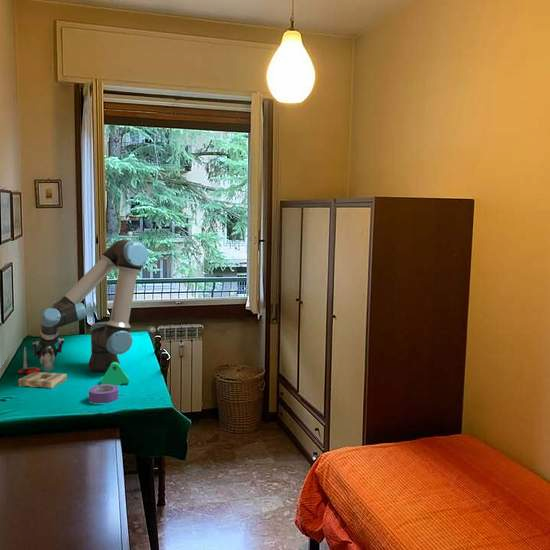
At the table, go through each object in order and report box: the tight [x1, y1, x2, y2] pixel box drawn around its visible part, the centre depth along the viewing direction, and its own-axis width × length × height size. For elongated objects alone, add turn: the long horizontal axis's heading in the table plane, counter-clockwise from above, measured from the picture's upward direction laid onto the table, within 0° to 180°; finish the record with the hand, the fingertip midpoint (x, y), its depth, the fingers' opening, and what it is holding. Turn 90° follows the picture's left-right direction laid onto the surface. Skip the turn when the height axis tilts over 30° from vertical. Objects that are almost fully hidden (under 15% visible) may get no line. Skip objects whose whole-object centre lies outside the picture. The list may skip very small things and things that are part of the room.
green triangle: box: [100, 362, 130, 386], centre depth 246 cm, size 12×8×10 cm, turn 104°
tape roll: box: [88, 384, 120, 404], centre depth 224 cm, size 12×12×5 cm
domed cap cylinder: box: [42, 346, 54, 371], centre depth 256 cm, size 5×5×11 cm
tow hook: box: [17, 346, 41, 375], centre depth 262 cm, size 8×13×9 cm
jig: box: [18, 371, 68, 389], centre depth 245 cm, size 16×12×3 cm
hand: (46, 360), depth 260 cm, fingers closed on domed cap cylinder, 4 cm apart
